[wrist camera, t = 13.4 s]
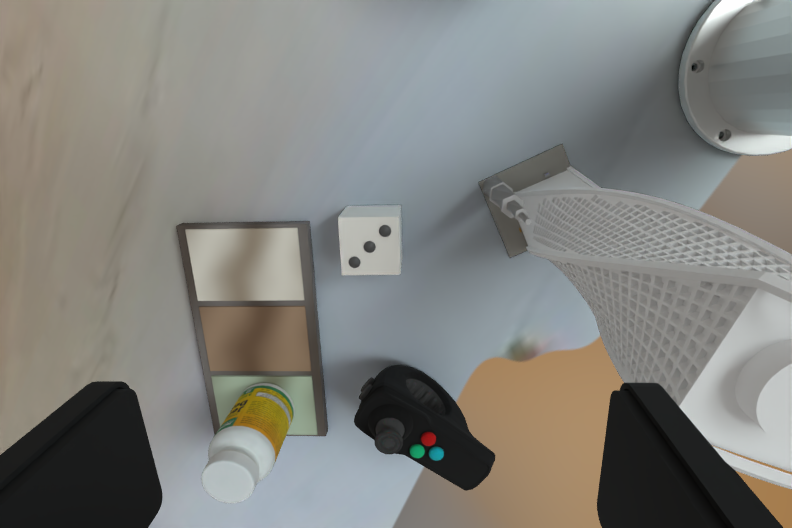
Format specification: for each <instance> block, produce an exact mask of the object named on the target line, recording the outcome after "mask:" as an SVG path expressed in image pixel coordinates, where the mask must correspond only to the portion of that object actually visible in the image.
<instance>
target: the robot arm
mask: <svg viewBox="0 0 792 528" xmlns="http://www.w3.org/2000/svg"><path fill="white" fill-rule="evenodd" d="M692 64H693V65H694V69H693V70H692V67H691V66H692ZM678 90H679V96H680V102H681V106H682V109H683V111H684V114H685V116H686V119H687V121H688V122H689V124H690V125H691V127H692V128H693V129H694V131H695V132H696V133H697V134H698V135H699V136H700V137H701V138H702V139H703V140H705V141H706V142H707V143H709V144H711V145H712V146H714V147H716V148H718V149H720V150H723V151H727V152H730V153H734V154H742V155H750V156H756V155H770V154H775V153H780V152H784V151H787V150H789V149H792V0H715V1H714V2H713V3H712V4H711V5H710V6H709V8H708V9H707V10H706V11H705V13H704V14H703V15H702V16H701V18H700V19H699V21H698V22H697V24H696V26H695V27H694V29H693V31H692V33H691V34H690V36H689V39H688V41H687V44H686V46H685V49H684V52H683V54H682V59H681V64H680V69H679V86H678ZM719 133H720V136H718V135H719ZM161 503H162V489H161V485H160V482H159V478H158V474H157V470H156V467H155V463H154V459H153V455H152V451H151V448H150V444H149V440H148V436H147V432H146V429H145V425H144V421H143V417H142V414H141V410H140V406H139V402H138V398H137V395H136V393H135V391H134V390H132V389H130V388H129V386H128V385H127V384H126V383H124V382H92V383H90V384H88V385H87V386H85V387H84V388H83V389H82V390H80V391H79V392H78V393H77V394H75V395H74V396H73V397H72V398H70V399H69V400H68V401H67V402H66V403H64V404H63V405H62V406H61V407H59V408H58V409H57V410H56V411H54V412H53V413H52V414H51V415H49V416H48V417H47V418H46V419H44V420H43V421H42V422H41V423H40V424H38V425H37V426H36V427H35V428H33V429H32V430H31V431H30V432H28V433H27V434H26V435H25V436H23V437H22V438H21V439H20V440H18V441H17V442H16V443H15V444H13V445H12V446H11V447H10V448H9V449H7V450H6V451H5V452H4V453H2V454H1V455H0V528H148V527H149V525H150V524H151V522H152V521H153V519H154V518H155V516H156V515H157V513H158V511H159V509H160V507H161ZM597 511H598V516H599V520H600V524H601V526H602V528H783V527H782V526H781V524H780V523H779V522H778V521H777V520H776V519H775V517H774V516H773V515H772V514H771V513H770V512H769V510H768V509H767V508H766V507H765V505H764V504H763V503H762V502H761V501H760V500H759V498H758V497H757V496H756V495H755V494H754V493H753V492H752V490H751V489H750V488H749V487H748V486H747V484H746V483H745V482H744V481H743V480H742V478H741V477H740V476H739V475H738V474H737V473H736V471H735V470H734V469H733V468H732V467H731V466H730V465H729V464H727V463H726V462H725V461H724V460H723V458H722V457H721V456H720V455H719V454H718V452H717V451H716V450H715V449H714V448H713V447H712V445H711V444H710V443H709V442H708V441H707V439H706V438H705V437H704V436H703V435H702V433H701V432H700V431H699V430H698V429H697V428H696V426H695V425H694V424H693V423H692V422H691V420H690V419H689V418H688V417H687V416H686V414H685V413H684V412H683V411H682V410H681V409H680V407H679V406H678V405H677V404H676V403H675V401H674V400H673V399H672V398H671V397H670V395H669V394H668V393H667V392H666V391H665V390H664V388H663V387H662V386H661V385H660V384H658V383H624V384H622V386H621V388H620V391H613V392H612V394H611V398H610V405H609V413H608V421H607V428H606V437H605V445H604V452H603V460H602V467H601V475H600V483H599V492H598V499H597Z"/></svg>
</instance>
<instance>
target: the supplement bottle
mask: <svg viewBox="0 0 792 528" xmlns="http://www.w3.org/2000/svg"><path fill="white" fill-rule="evenodd" d="M294 412H295V411H294V404H293V401H292V399H291V397H290V396H289V394H288V393H287V392H286V391H285V390H284V389H282V388H281V387H279V386H277V385H274V384H270V383H259V384H255V385H252V386H250V387H248V388H247V389H246V390H244V392H243V393H242V394H241V396H240V397H239V399H238V400H237V402H236V403H235V405H234V407H233V408H232V410H231V411H230V413H229V414H228V416H227V417H226V419H225V421H224V422H223V424H222V425H221V427H220V428H219V430H218V431H217V433H216V434H215V436H214V437H213V439H212V441H211V443H210V446H209V450H208V458H209V461H208V463H207V465H206V467H205V468H204V470H203V473H202V477H201V481H202V485H203V487H204V489H205V491H206V492H207V493H208V494H209V495H210V496H211V497H213V498H214V499H216V500H218V501H221V502H224V503H239V502H242V501H244V500H246V499H247V498H249V497H250V495H251V494H252V493H253V491H254V488H255V486H256V485H257V483H258V482H259V481H261V480H263V479H264V478H265V477H266V476H267V475H268V474H269V473H270V471H271V470H272V468H273V466H274V463H275V461H276V459H277V456H278V454H279V451H280V449H281V446H282V444H283V441H284V439H285V437H286V434H287V432H288V429H289V427H290V425H291V422H292V420H293V417H294Z"/></svg>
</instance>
